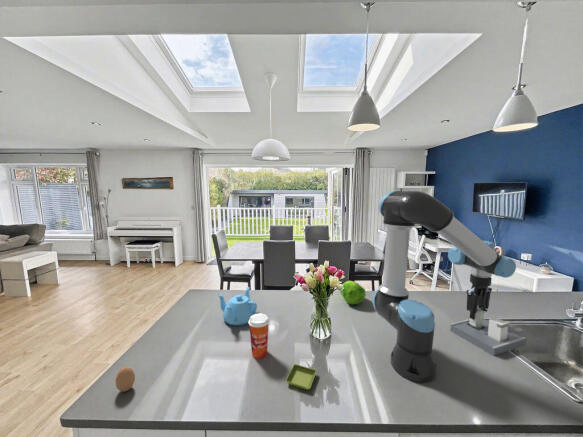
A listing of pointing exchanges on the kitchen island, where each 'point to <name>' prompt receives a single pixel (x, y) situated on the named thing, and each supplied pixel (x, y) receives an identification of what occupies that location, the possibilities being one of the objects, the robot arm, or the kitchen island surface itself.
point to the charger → (498, 329)
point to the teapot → (238, 309)
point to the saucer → (301, 376)
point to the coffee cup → (259, 334)
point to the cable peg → (479, 319)
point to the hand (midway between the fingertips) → (476, 324)
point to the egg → (125, 379)
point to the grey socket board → (487, 337)
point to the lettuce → (353, 292)
